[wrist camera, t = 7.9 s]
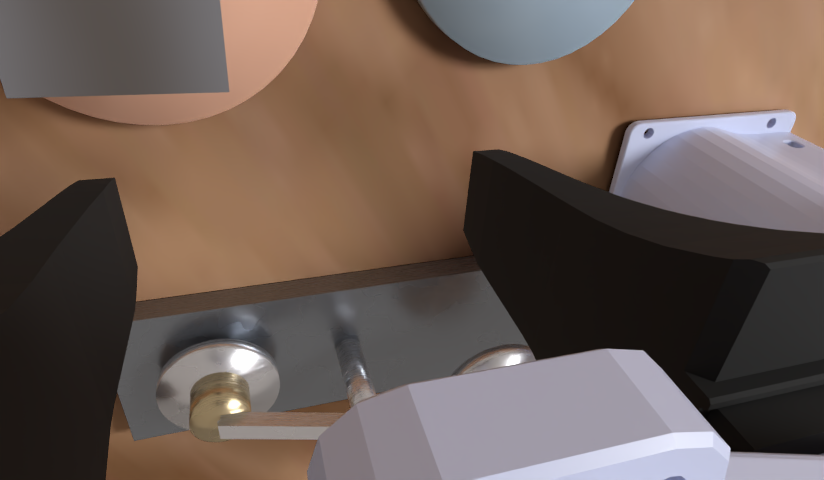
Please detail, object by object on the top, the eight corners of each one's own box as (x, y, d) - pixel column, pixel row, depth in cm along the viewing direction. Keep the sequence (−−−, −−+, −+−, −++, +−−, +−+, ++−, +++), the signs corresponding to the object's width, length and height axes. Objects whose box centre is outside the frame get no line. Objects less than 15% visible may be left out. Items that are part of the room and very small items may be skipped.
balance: (540, 246, 29) (630, 354, 23) (518, 348, 33) (591, 463, 26) (99, 307, 23) (62, 469, 17) (136, 420, 27) (117, 585, 21)
